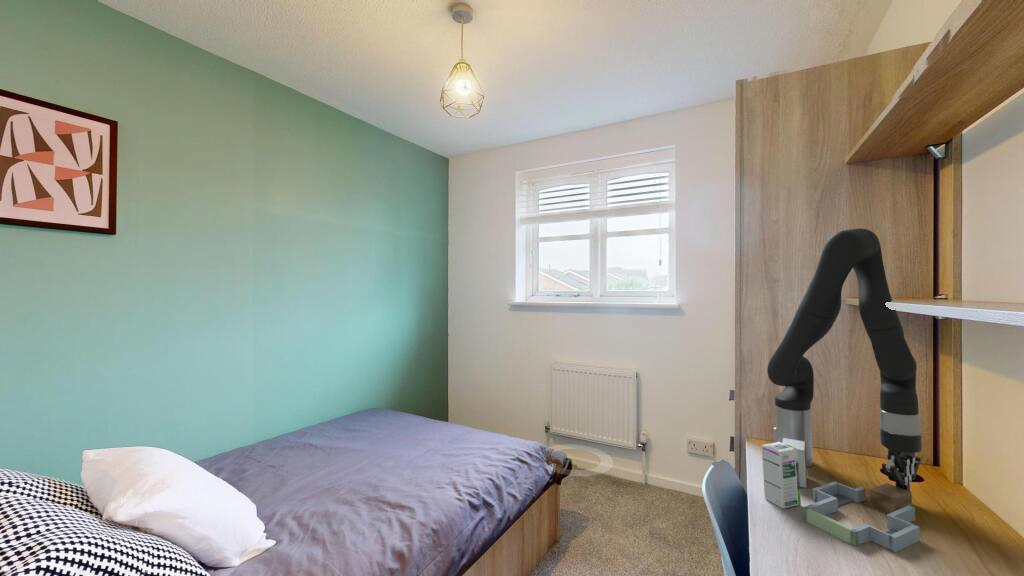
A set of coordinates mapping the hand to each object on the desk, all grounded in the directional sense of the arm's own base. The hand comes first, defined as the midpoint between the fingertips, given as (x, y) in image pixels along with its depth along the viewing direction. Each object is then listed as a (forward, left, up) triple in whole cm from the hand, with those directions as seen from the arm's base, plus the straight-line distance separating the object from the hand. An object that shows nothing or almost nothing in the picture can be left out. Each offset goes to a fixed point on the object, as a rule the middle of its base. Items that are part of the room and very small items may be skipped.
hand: (903, 497), depth 103 cm
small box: (-19, -12, -2) cm, 23 cm away
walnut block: (0, -6, -1) cm, 6 cm away
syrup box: (-13, -26, -2) cm, 29 cm away
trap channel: (0, -18, -1) cm, 18 cm away
